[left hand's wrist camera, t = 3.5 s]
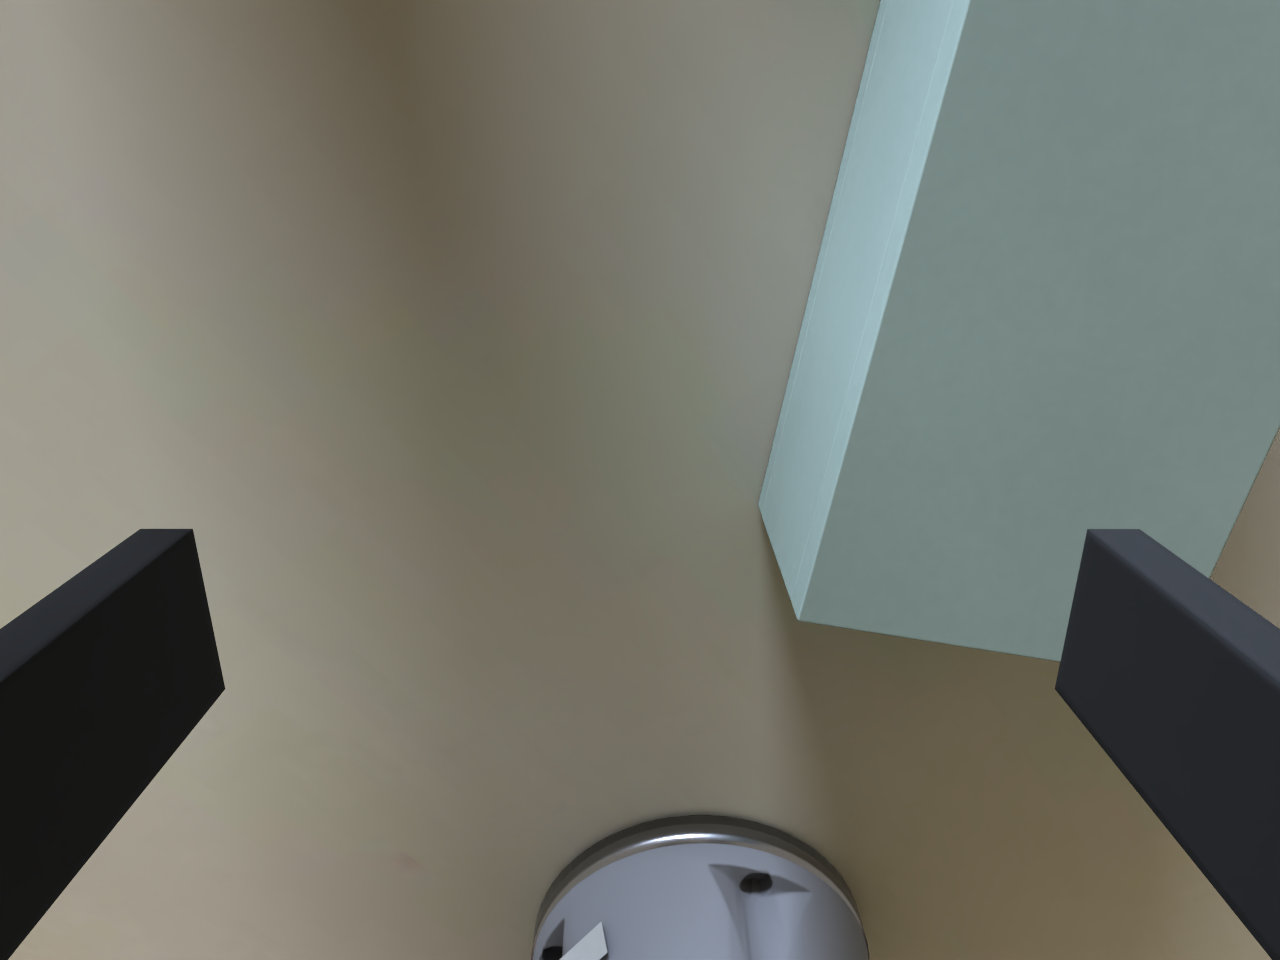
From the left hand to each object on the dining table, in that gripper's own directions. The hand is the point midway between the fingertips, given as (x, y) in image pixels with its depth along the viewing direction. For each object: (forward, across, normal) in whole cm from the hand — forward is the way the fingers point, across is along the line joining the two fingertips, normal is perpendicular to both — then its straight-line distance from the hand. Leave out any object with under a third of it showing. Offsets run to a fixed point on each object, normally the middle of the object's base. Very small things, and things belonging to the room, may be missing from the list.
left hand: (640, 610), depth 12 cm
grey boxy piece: (+18, -11, -2) cm, 21 cm away
